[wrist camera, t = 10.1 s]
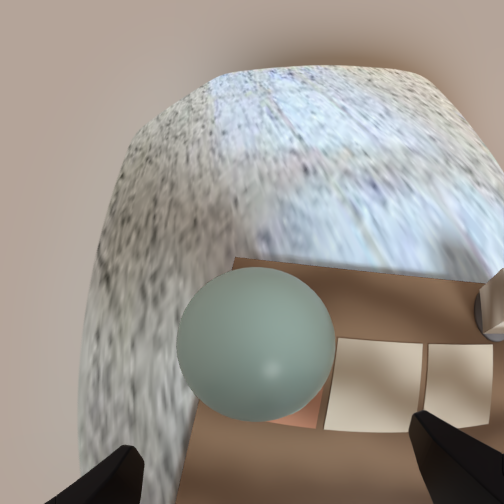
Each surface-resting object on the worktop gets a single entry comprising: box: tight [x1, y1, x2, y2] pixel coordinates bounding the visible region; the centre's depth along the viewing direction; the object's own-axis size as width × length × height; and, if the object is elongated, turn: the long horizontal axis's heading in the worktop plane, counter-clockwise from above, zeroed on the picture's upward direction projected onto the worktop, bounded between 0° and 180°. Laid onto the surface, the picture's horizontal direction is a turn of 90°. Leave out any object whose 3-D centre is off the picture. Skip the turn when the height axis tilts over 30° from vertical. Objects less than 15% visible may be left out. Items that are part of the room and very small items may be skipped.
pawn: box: [176, 267, 335, 422], centre depth 12 cm, size 5×5×12 cm
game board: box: [175, 257, 504, 504], centre depth 13 cm, size 20×24×5 cm
